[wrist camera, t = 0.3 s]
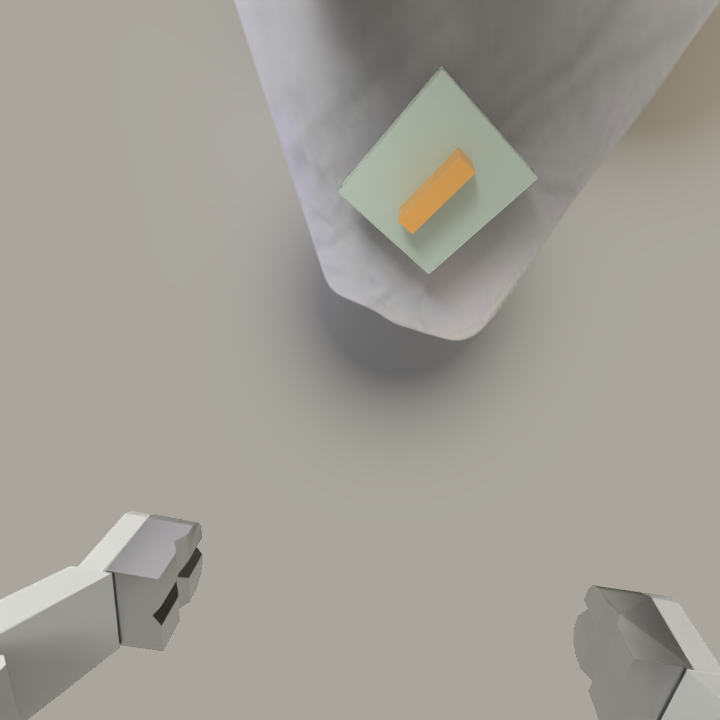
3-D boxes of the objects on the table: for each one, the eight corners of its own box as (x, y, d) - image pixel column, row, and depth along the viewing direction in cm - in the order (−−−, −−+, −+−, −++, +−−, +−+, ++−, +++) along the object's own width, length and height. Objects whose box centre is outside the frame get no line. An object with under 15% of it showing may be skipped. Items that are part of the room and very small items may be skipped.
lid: (441, 65, 42) (443, 75, 37) (532, 169, 47) (545, 190, 42) (341, 183, 50) (332, 204, 45) (428, 262, 54) (428, 290, 49)
